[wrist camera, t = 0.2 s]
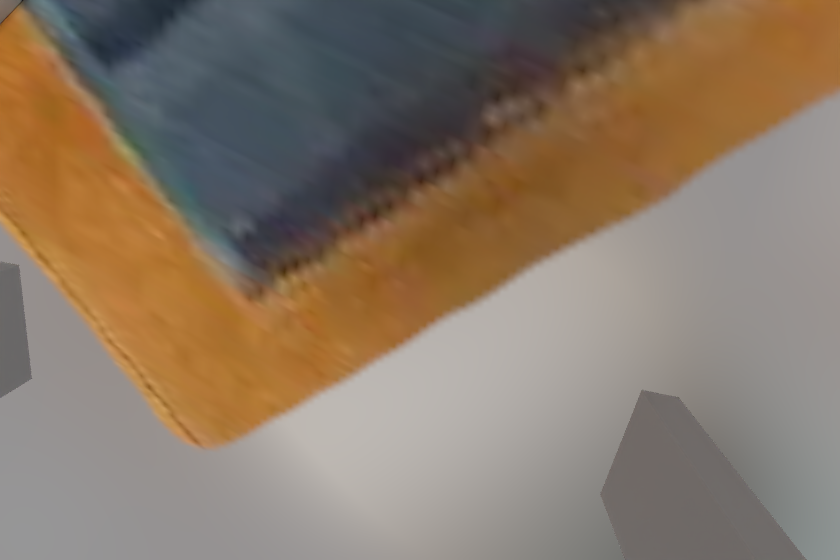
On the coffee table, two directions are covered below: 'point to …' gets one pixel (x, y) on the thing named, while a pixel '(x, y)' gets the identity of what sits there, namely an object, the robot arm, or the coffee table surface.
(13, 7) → the tray
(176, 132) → the coffee table surface
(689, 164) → the coffee table surface
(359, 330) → the coffee table surface
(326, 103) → the coffee table surface
